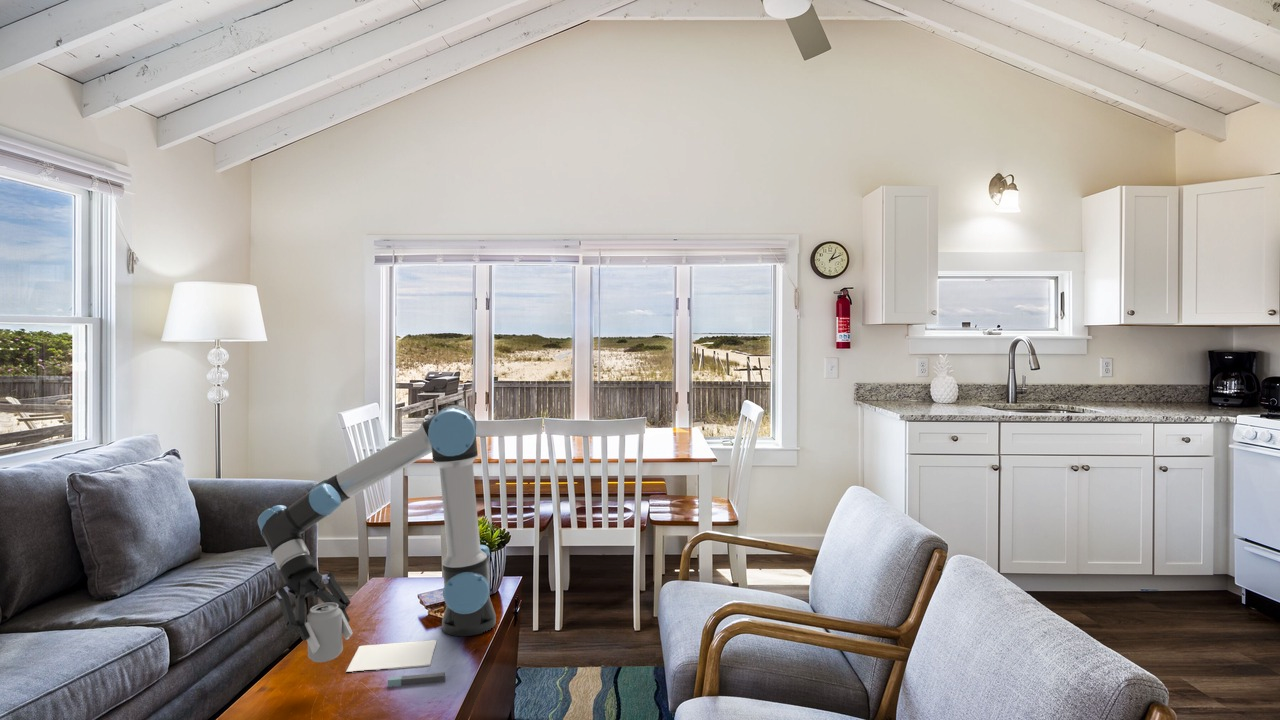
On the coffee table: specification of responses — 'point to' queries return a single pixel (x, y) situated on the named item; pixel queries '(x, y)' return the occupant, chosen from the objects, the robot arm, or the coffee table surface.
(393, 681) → the marker
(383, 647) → the paper
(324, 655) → the can
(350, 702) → the coffee table surface
